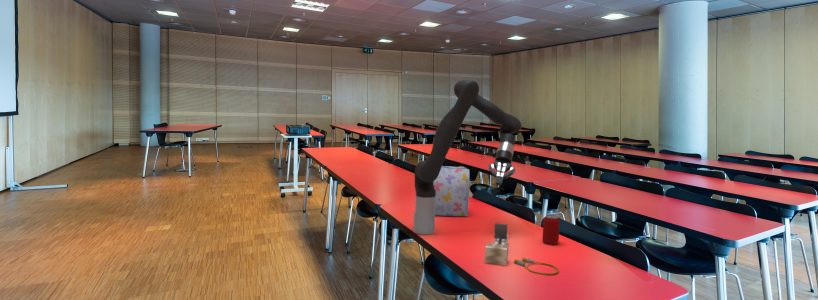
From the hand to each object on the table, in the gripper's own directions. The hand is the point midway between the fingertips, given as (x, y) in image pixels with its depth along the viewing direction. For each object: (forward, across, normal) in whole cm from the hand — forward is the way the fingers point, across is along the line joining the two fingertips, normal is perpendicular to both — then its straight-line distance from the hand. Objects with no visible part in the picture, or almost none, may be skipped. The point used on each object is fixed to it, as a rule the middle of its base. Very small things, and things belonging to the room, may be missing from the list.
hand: (498, 184), depth 196 cm
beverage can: (+17, +26, +14) cm, 34 cm away
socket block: (+40, +6, -11) cm, 42 cm away
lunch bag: (0, -28, +43) cm, 51 cm away
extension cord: (+39, +22, -11) cm, 46 cm away
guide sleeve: (+29, +6, +2) cm, 29 cm away
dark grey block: (+34, +6, -4) cm, 35 cm away
